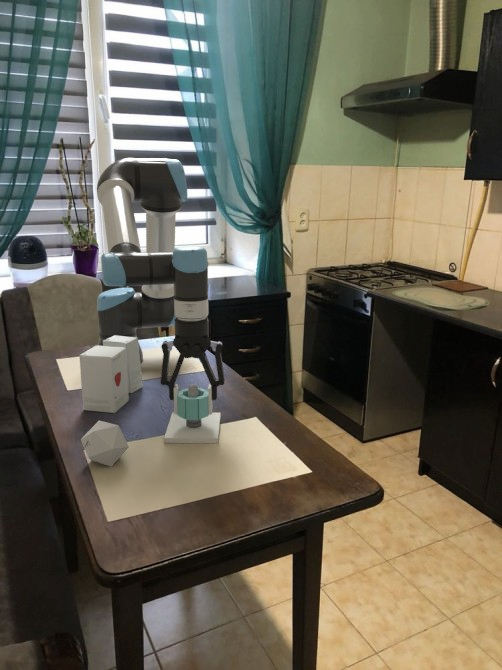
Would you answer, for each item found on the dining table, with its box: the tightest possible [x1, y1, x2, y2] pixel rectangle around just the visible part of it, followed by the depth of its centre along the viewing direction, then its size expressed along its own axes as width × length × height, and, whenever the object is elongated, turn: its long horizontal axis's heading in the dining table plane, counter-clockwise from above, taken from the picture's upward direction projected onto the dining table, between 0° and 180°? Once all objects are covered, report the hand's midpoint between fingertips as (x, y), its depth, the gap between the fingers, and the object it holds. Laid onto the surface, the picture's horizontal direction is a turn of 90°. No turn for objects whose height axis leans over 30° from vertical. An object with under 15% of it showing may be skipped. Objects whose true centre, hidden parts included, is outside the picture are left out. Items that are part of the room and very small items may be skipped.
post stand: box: [163, 383, 221, 444], centre depth 126 cm, size 14×12×11 cm
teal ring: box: [177, 387, 209, 420], centre depth 126 cm, size 7×7×5 cm
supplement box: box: [78, 345, 130, 414], centre depth 139 cm, size 9×9×15 cm
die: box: [80, 420, 130, 467], centre depth 112 cm, size 8×9×10 cm
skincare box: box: [103, 335, 143, 394], centre depth 150 cm, size 8×6×15 cm
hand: (193, 412), depth 126 cm, fingers closed on teal ring, 7 cm apart
